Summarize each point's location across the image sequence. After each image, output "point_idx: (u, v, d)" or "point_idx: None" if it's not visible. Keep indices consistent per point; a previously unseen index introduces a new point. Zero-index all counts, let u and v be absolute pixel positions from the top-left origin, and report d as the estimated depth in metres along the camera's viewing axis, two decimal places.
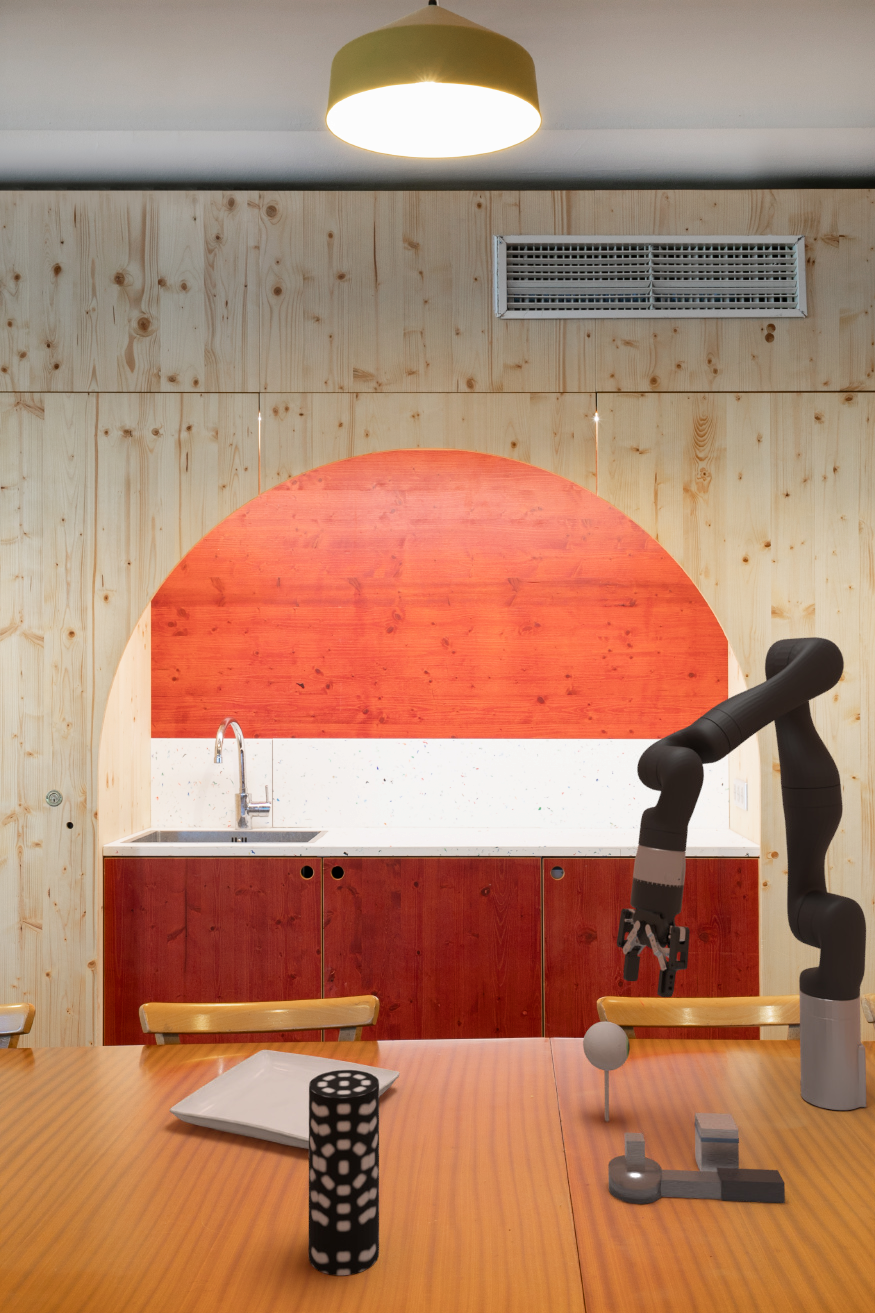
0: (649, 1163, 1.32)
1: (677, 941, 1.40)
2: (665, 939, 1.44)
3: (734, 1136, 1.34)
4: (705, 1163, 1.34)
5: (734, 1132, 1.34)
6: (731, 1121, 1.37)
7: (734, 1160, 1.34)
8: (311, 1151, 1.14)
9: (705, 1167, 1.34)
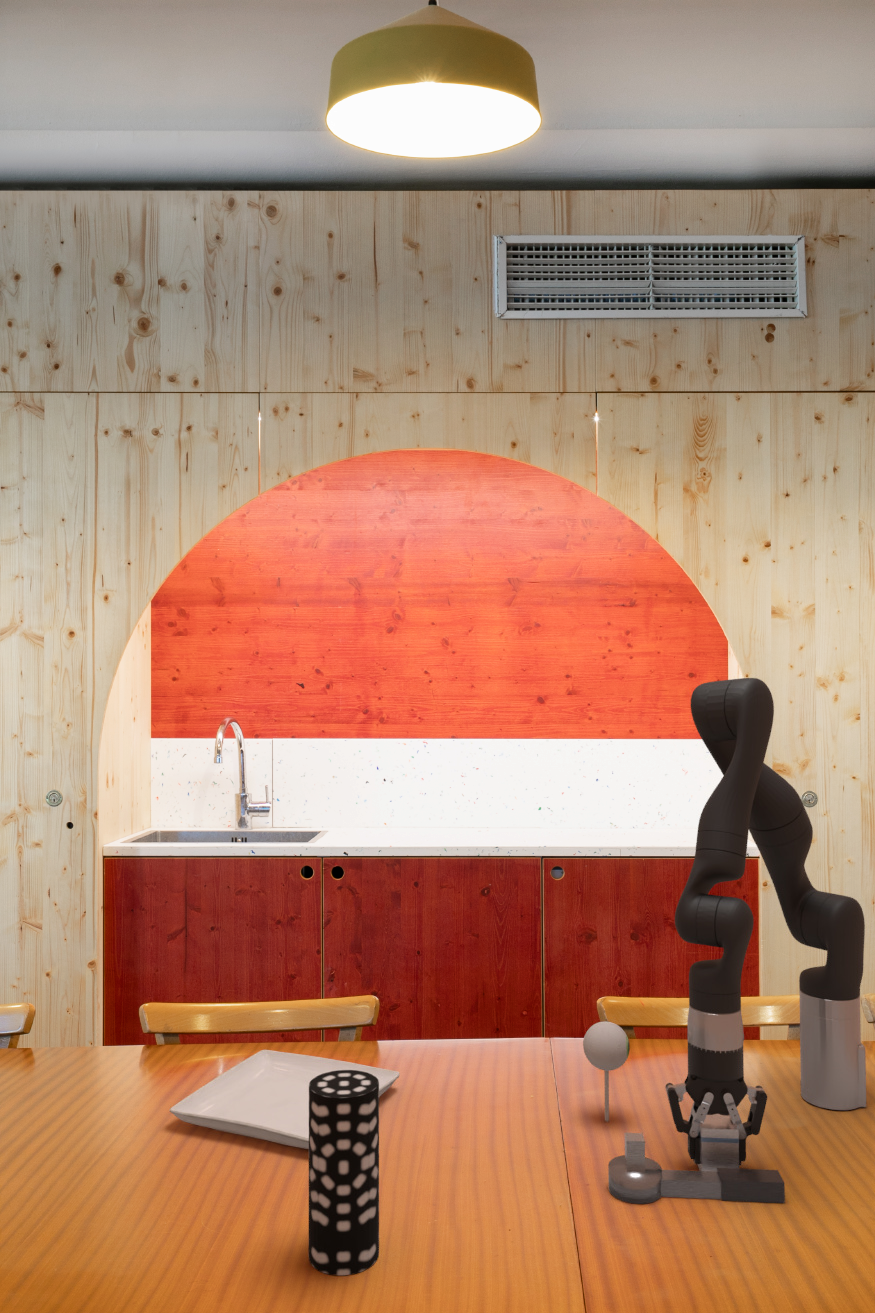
0: (649, 1163, 1.32)
1: None
2: None
3: (734, 1136, 1.34)
4: (705, 1163, 1.34)
5: (734, 1132, 1.34)
6: (731, 1121, 1.37)
7: (734, 1160, 1.34)
8: (311, 1151, 1.14)
9: (705, 1167, 1.34)
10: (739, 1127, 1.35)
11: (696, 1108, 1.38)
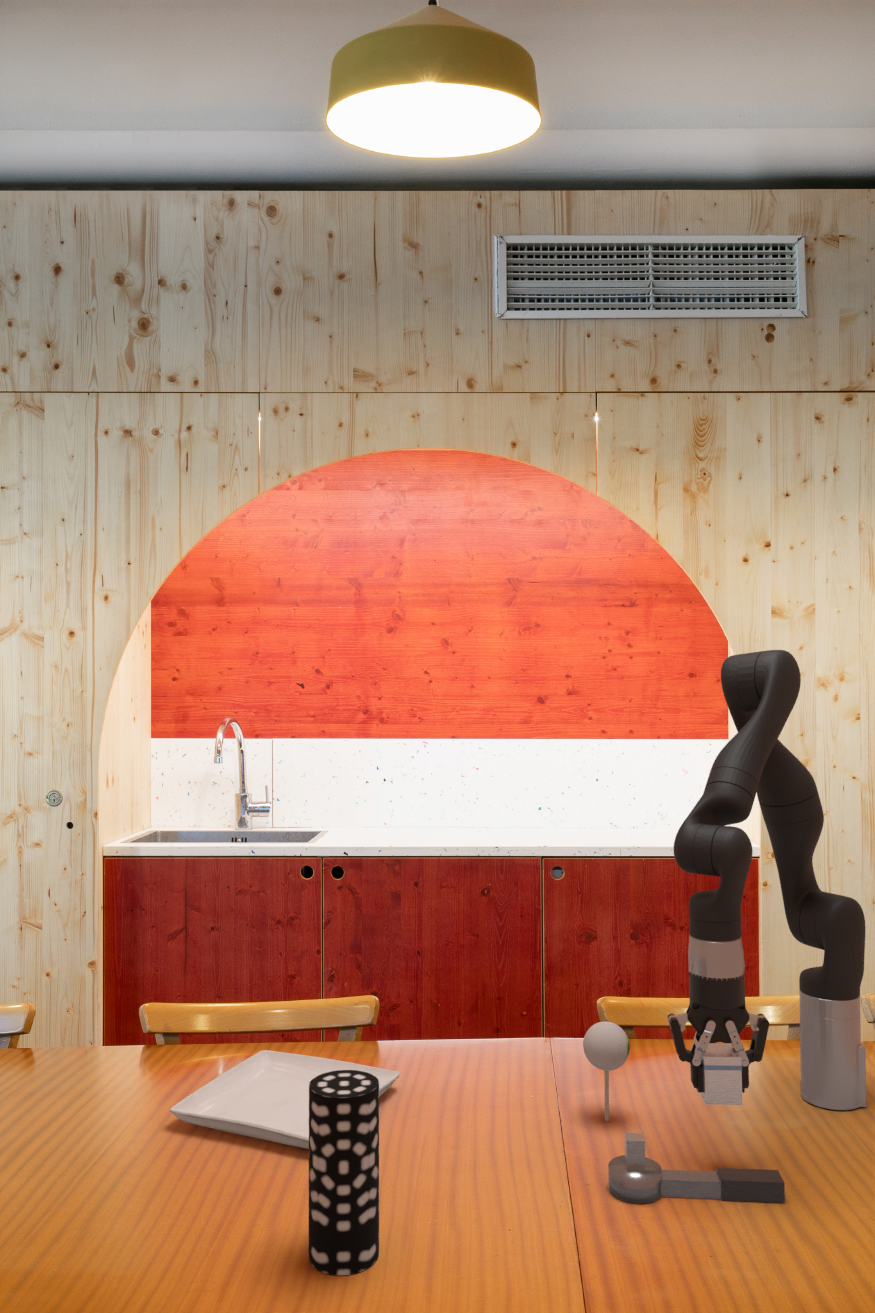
0: (649, 1163, 1.32)
1: None
2: None
3: (737, 1063, 1.34)
4: (708, 1091, 1.34)
5: (737, 1060, 1.34)
6: (734, 1050, 1.37)
7: (737, 1087, 1.34)
8: (311, 1151, 1.14)
9: (709, 1095, 1.34)
10: (742, 1054, 1.35)
11: (698, 1037, 1.38)
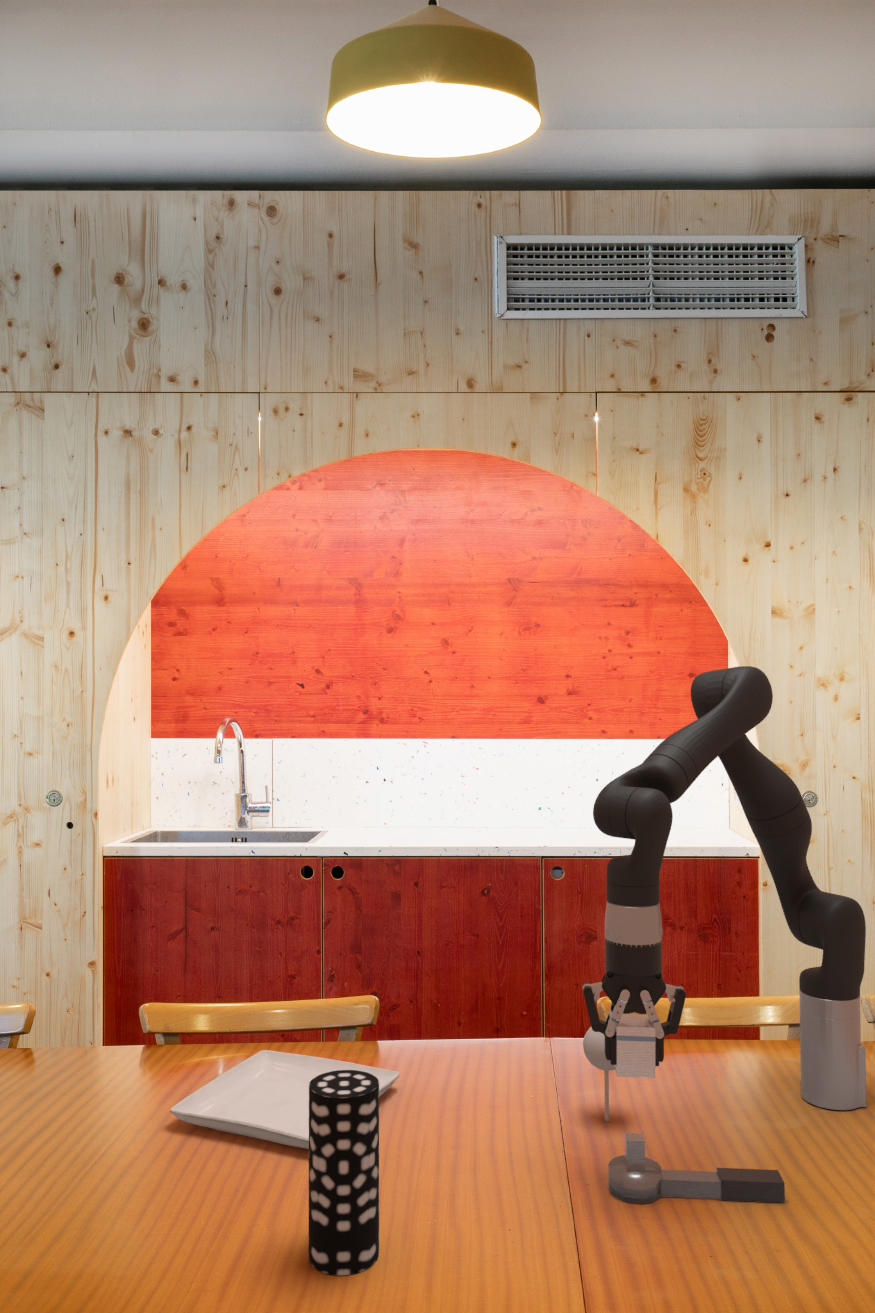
0: (649, 1163, 1.32)
1: None
2: None
3: (651, 1034, 1.29)
4: (620, 1062, 1.29)
5: (651, 1030, 1.29)
6: None
7: (650, 1059, 1.29)
8: (311, 1151, 1.14)
9: (620, 1066, 1.29)
10: (657, 1026, 1.30)
11: (614, 1008, 1.33)
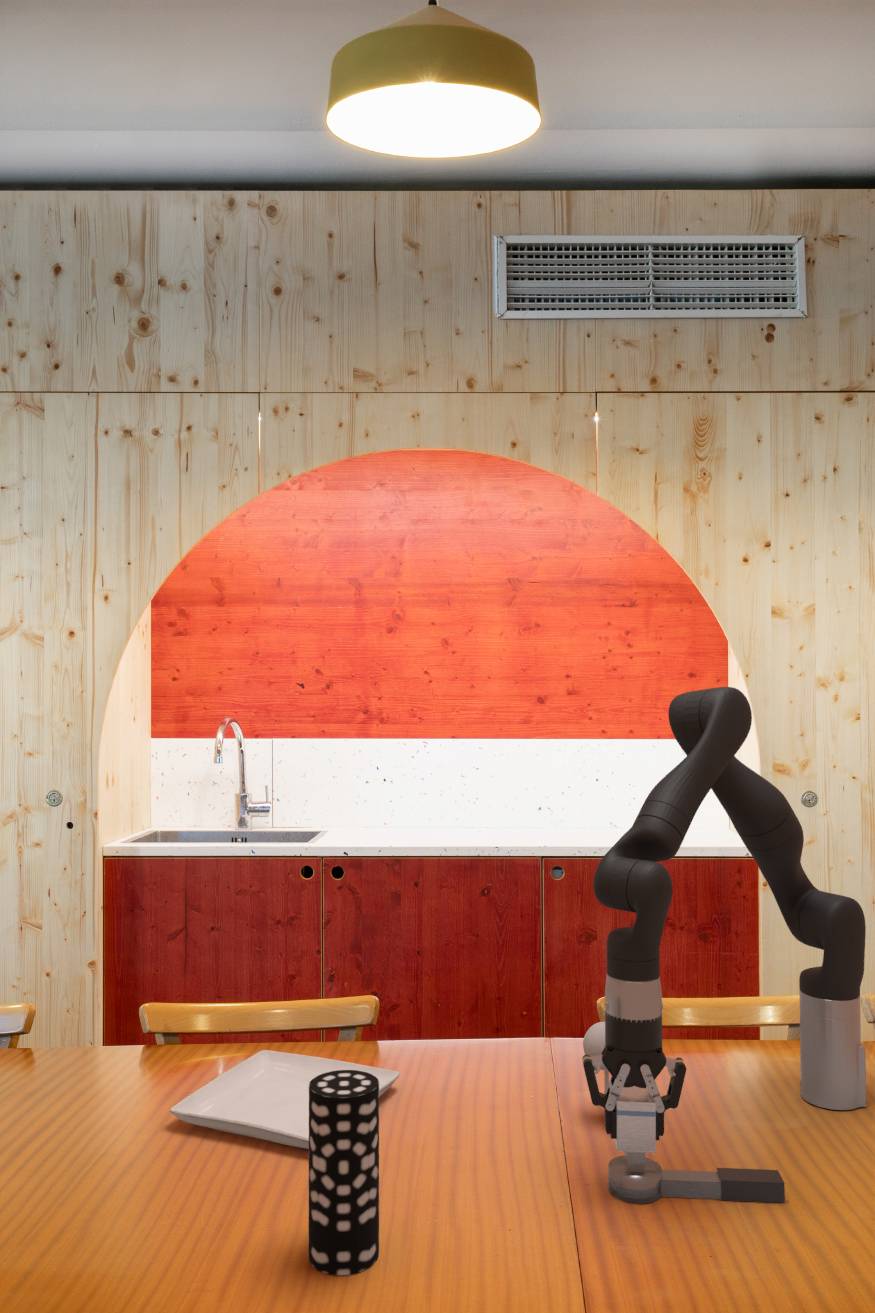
0: (649, 1163, 1.32)
1: None
2: None
3: (651, 1109, 1.28)
4: (621, 1137, 1.29)
5: (651, 1105, 1.28)
6: None
7: (650, 1135, 1.28)
8: (311, 1151, 1.14)
9: (621, 1141, 1.28)
10: (657, 1100, 1.30)
11: (614, 1081, 1.32)
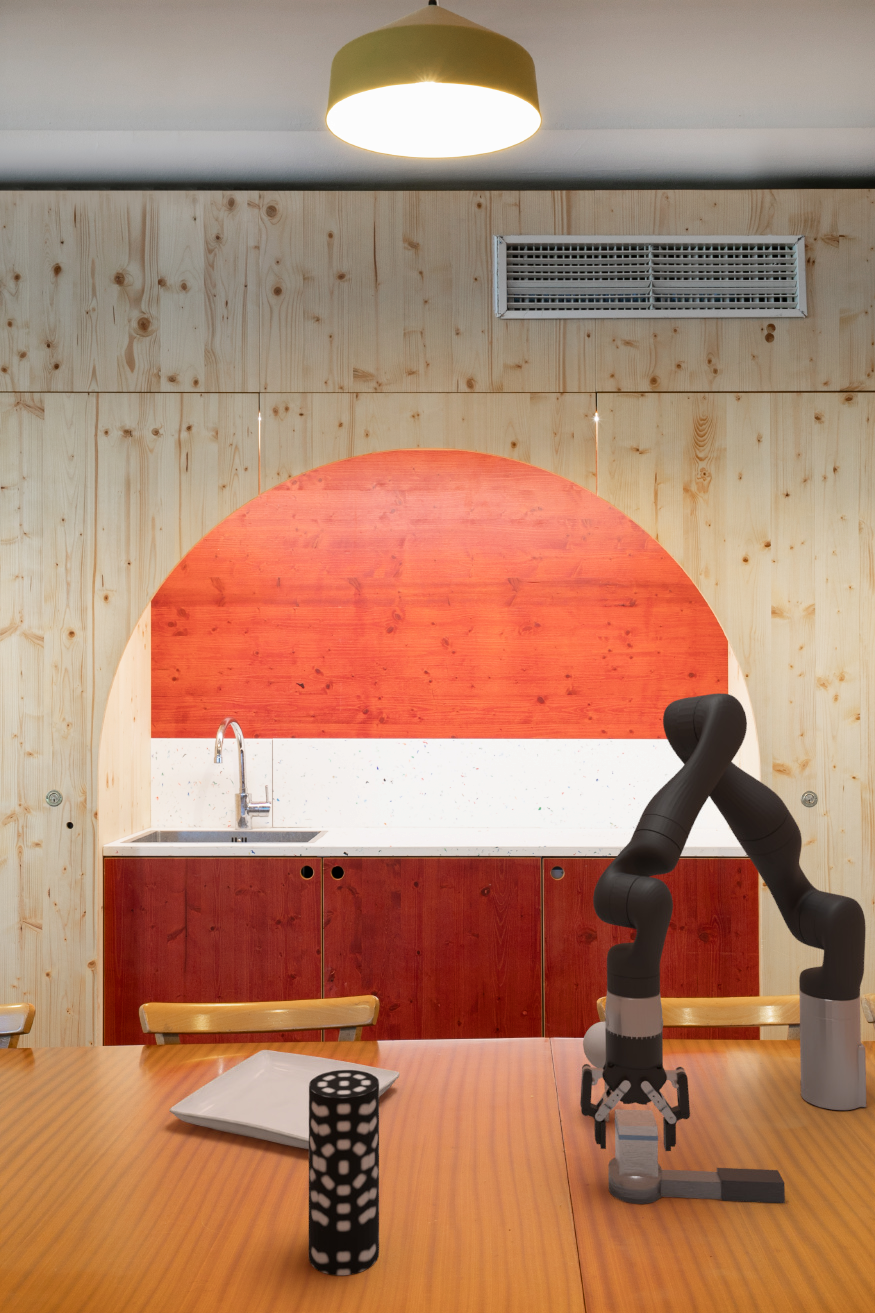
0: None
1: (687, 1087, 1.30)
2: None
3: (653, 1133, 1.28)
4: (623, 1162, 1.28)
5: (653, 1129, 1.28)
6: (652, 1118, 1.31)
7: (653, 1159, 1.28)
8: (311, 1151, 1.14)
9: (623, 1166, 1.28)
10: (666, 1112, 1.29)
11: (609, 1093, 1.32)
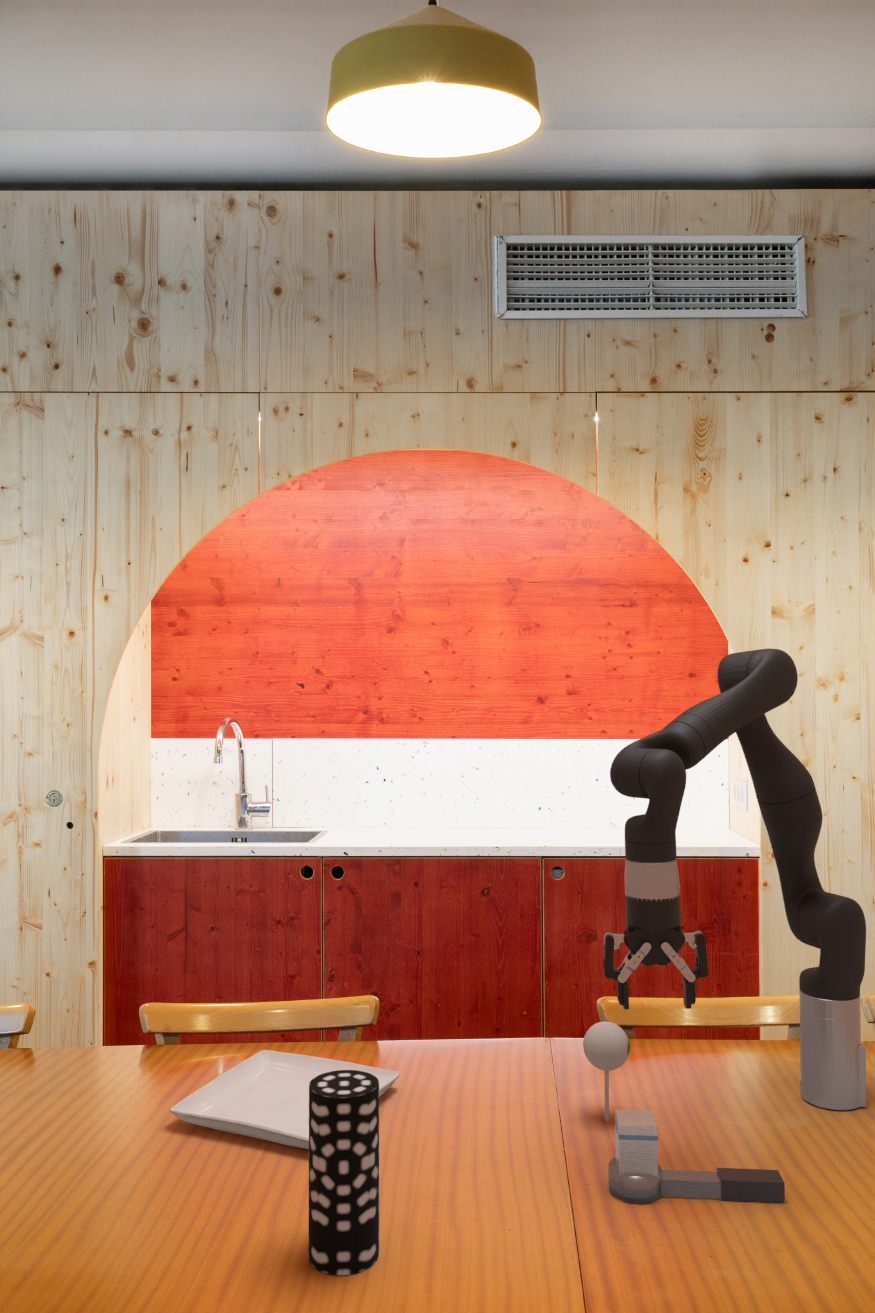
0: None
1: None
2: None
3: (653, 1133, 1.28)
4: (623, 1162, 1.28)
5: (653, 1129, 1.28)
6: (652, 1118, 1.31)
7: (653, 1159, 1.28)
8: (311, 1151, 1.14)
9: (623, 1166, 1.28)
10: (686, 971, 1.35)
11: (630, 958, 1.38)
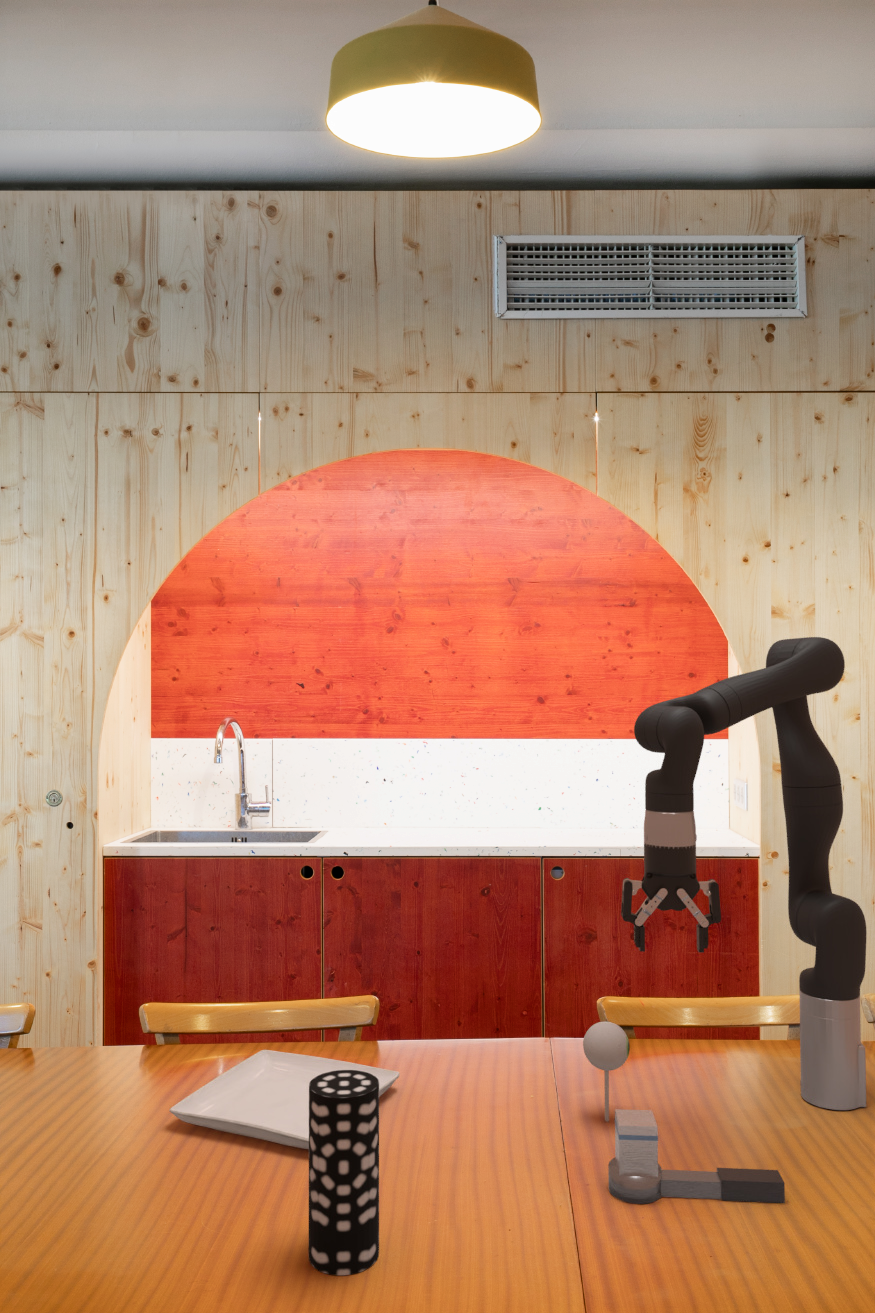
0: None
1: (718, 895, 1.44)
2: None
3: (653, 1133, 1.28)
4: (623, 1162, 1.28)
5: (653, 1129, 1.28)
6: (652, 1118, 1.31)
7: (653, 1159, 1.28)
8: (311, 1151, 1.14)
9: (623, 1166, 1.28)
10: (700, 917, 1.43)
11: (647, 904, 1.46)
